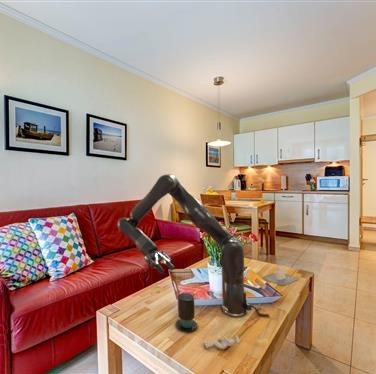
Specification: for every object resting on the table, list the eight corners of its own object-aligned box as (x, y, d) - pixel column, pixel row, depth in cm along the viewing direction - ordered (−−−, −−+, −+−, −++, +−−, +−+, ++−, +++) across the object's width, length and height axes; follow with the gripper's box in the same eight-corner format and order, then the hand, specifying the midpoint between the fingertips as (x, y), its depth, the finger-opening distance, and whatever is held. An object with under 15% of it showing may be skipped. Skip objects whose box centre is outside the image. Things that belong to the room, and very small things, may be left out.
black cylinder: (191, 310, 101) (191, 292, 100) (196, 319, 94) (195, 300, 94) (176, 311, 100) (176, 293, 100) (180, 320, 94) (179, 301, 93)
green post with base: (193, 319, 102) (192, 292, 101) (199, 331, 93) (198, 302, 93) (174, 320, 101) (173, 293, 101) (179, 333, 93) (178, 303, 92)
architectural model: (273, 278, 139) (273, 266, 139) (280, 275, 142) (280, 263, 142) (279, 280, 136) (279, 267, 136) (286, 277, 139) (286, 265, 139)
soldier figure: (203, 343, 88) (231, 330, 89) (210, 358, 85) (239, 344, 86) (204, 339, 82) (234, 326, 83) (211, 355, 79) (242, 341, 80)
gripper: (140, 241, 108) (163, 267, 99) (158, 239, 119) (180, 262, 110) (133, 253, 111) (155, 280, 101) (151, 250, 121) (172, 273, 112)
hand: (168, 270), depth 106 cm, fingers open, 8 cm apart
